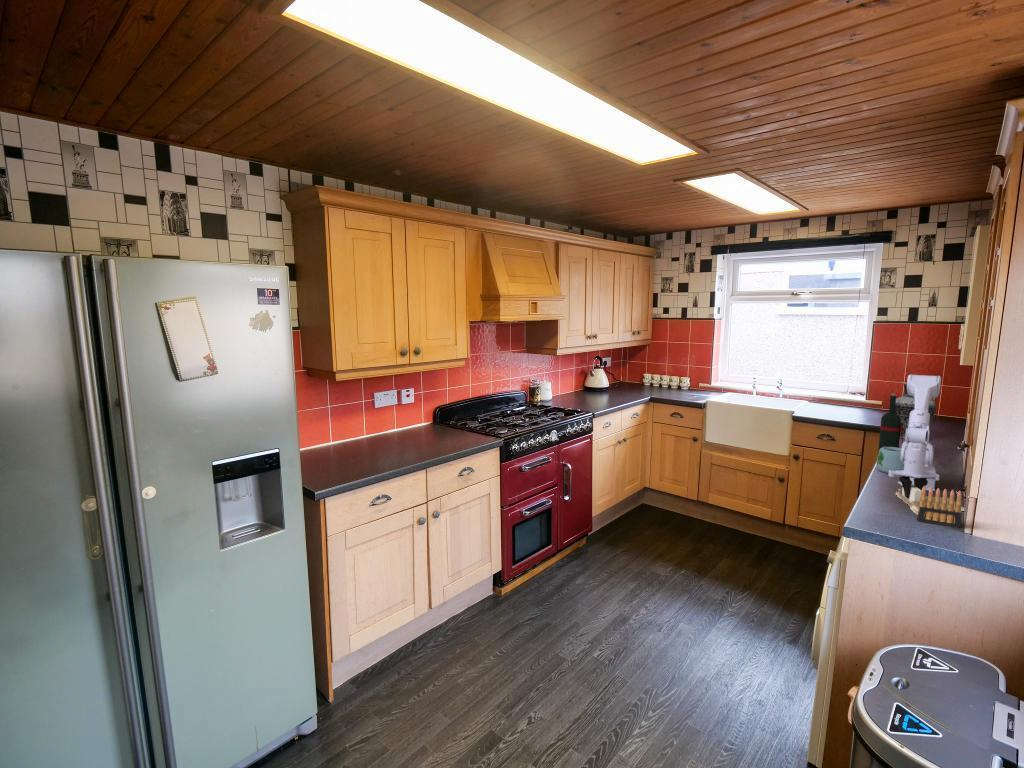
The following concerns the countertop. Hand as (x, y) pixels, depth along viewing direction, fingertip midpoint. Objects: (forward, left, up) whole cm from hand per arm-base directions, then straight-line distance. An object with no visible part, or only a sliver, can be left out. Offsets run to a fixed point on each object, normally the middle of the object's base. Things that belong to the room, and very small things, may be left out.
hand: (911, 497), depth 184 cm
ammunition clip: (0, +20, -2) cm, 20 cm away
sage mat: (-9, 0, -2) cm, 9 cm away
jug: (-40, -108, -2) cm, 115 cm away
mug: (-7, -41, -2) cm, 42 cm away
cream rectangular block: (0, 0, -2) cm, 2 cm away
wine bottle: (-17, -67, -2) cm, 69 cm away
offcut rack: (0, +3, -2) cm, 4 cm away
